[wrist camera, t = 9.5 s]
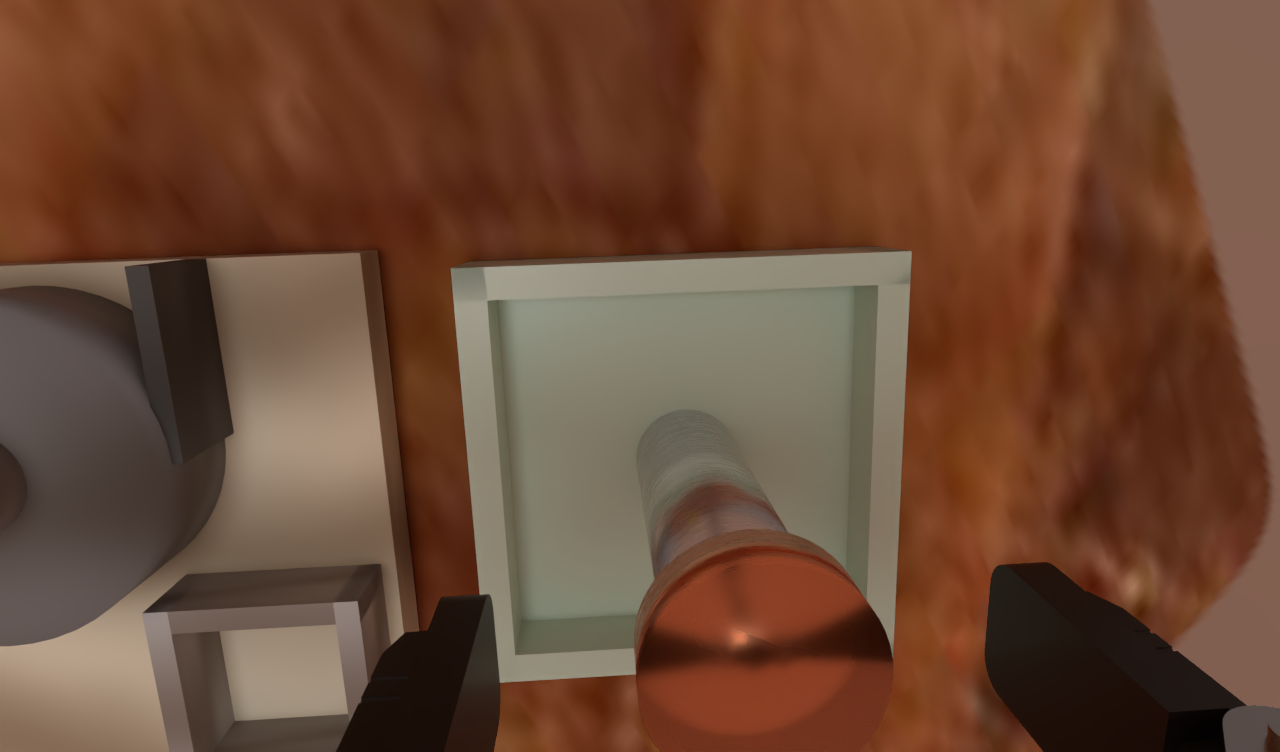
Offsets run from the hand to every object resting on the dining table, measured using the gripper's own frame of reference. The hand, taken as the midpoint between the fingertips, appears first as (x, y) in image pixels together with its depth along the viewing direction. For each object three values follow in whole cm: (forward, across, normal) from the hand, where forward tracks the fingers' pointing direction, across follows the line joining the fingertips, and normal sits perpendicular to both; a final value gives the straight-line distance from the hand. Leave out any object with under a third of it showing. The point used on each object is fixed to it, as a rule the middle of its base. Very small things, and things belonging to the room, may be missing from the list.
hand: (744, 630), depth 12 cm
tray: (+10, 0, 0) cm, 10 cm away
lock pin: (+9, 0, 0) cm, 9 cm away
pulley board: (+10, +14, +1) cm, 17 cm away
